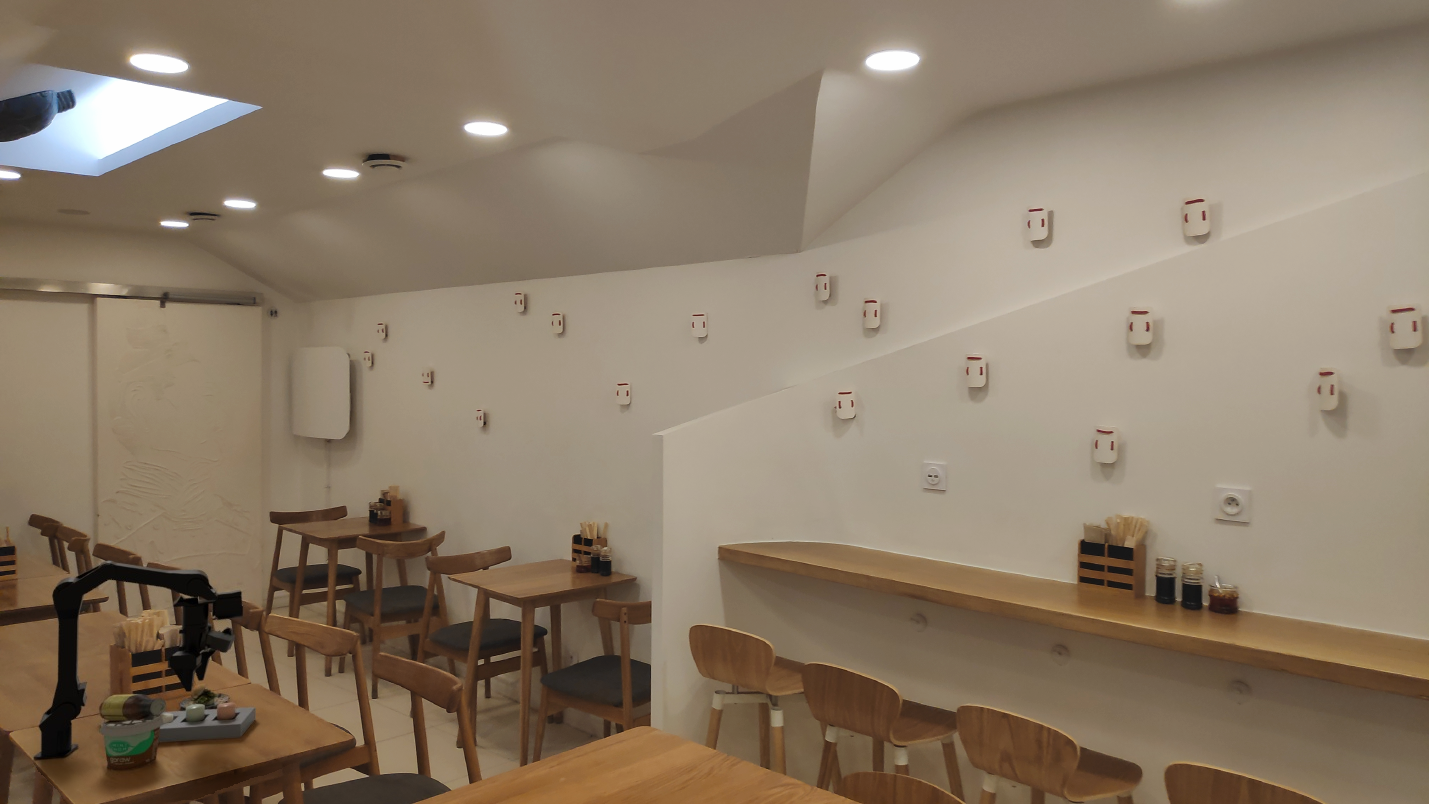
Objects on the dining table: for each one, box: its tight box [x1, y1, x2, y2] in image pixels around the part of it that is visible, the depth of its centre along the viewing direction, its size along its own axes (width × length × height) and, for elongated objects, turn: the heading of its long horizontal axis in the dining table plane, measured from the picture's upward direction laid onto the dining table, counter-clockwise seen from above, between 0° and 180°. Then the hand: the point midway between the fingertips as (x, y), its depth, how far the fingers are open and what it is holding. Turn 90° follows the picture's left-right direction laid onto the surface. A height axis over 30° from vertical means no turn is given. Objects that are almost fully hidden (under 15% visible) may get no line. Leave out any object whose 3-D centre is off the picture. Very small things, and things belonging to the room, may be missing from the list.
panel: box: [142, 706, 256, 743], centre depth 218 cm, size 12×24×3 cm, turn 102°
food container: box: [99, 715, 164, 772], centre depth 197 cm, size 12×6×10 cm, turn 105°
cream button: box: [154, 713, 173, 723], centre depth 217 cm, size 4×4×3 cm
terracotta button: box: [216, 702, 237, 720], centre depth 220 cm, size 4×4×3 cm
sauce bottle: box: [98, 693, 167, 722], centre depth 222 cm, size 7×6×20 cm
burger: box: [178, 680, 231, 711], centre depth 236 cm, size 12×12×8 cm
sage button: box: [186, 704, 205, 722], centre depth 218 cm, size 4×4×3 cm
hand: (195, 685), depth 219 cm, fingers open, 8 cm apart
